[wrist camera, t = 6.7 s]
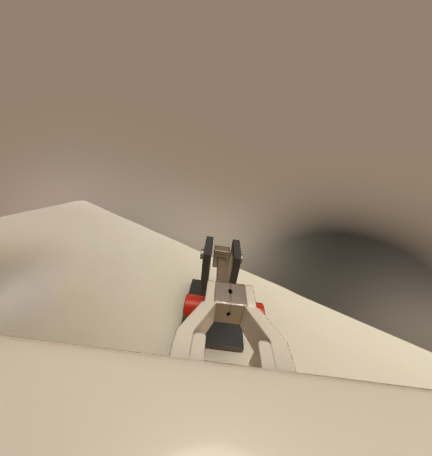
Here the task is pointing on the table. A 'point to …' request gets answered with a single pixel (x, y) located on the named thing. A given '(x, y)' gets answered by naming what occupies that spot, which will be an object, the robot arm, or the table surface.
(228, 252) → the lever
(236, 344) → the bracket
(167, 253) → the table surface
